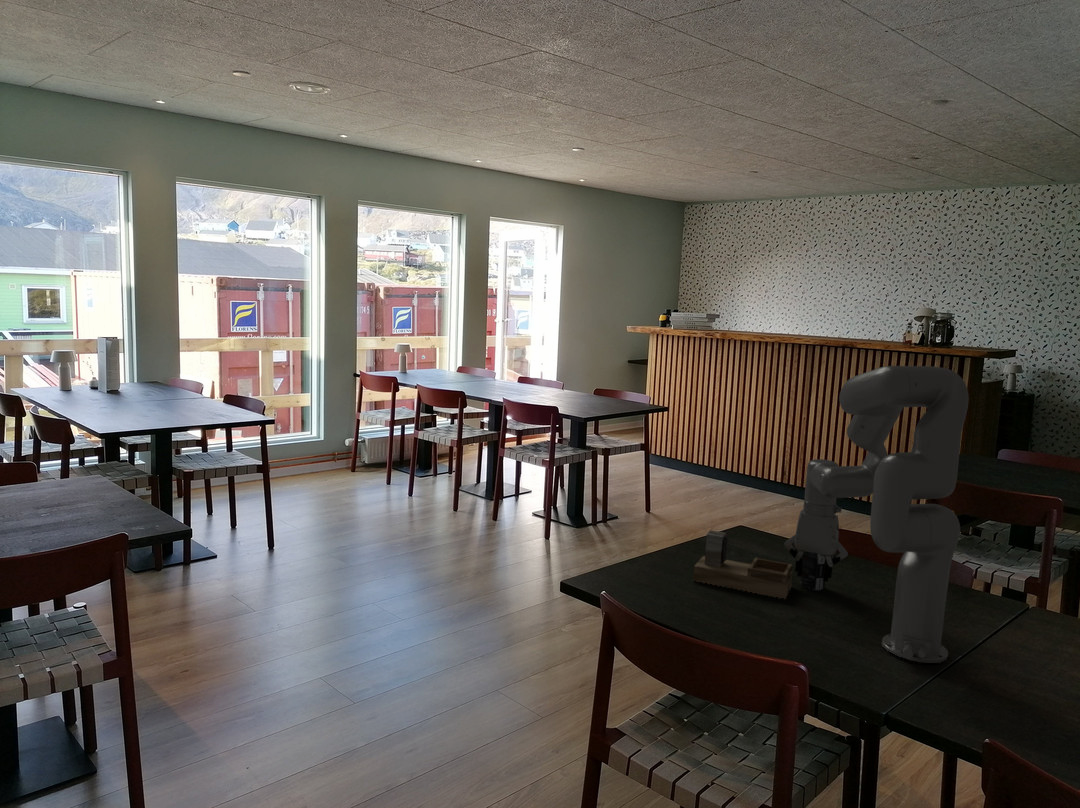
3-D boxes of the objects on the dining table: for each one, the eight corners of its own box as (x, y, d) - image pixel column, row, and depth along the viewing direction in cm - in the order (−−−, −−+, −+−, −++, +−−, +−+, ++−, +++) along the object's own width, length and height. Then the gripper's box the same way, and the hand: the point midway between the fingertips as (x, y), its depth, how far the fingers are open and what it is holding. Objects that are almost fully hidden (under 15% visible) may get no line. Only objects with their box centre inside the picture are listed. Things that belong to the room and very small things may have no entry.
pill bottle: (827, 591, 197) (831, 548, 195) (804, 590, 197) (808, 547, 195) (819, 582, 203) (823, 540, 201) (796, 581, 203) (800, 539, 201)
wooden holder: (785, 599, 190) (789, 552, 189) (692, 581, 200) (696, 535, 199) (791, 587, 199) (795, 541, 197) (702, 569, 209) (705, 526, 207)
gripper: (857, 510, 197) (850, 579, 199) (786, 500, 204) (780, 566, 206) (854, 517, 190) (847, 589, 192) (781, 506, 197) (775, 575, 200)
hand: (812, 576), depth 199 cm, fingers closed on pill bottle, 6 cm apart
